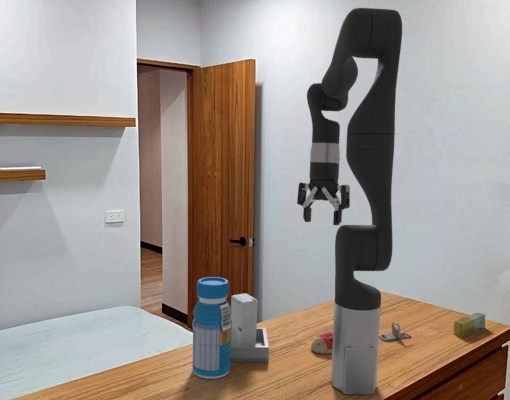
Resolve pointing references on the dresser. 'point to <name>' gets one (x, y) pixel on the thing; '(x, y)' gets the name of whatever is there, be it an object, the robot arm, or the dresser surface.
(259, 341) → the gray open square tray
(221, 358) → the beverage bottle
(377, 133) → the robot arm
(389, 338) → the strap clip
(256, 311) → the skincare box
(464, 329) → the medication box
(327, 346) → the ladybug figurine
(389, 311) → the dresser surface
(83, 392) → the dresser surface
